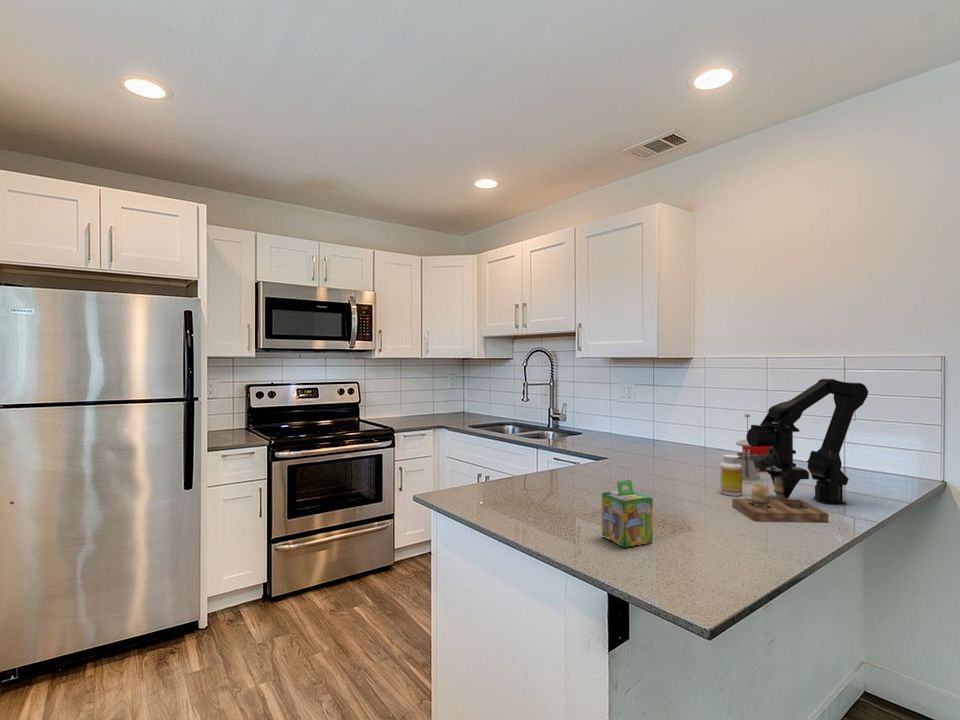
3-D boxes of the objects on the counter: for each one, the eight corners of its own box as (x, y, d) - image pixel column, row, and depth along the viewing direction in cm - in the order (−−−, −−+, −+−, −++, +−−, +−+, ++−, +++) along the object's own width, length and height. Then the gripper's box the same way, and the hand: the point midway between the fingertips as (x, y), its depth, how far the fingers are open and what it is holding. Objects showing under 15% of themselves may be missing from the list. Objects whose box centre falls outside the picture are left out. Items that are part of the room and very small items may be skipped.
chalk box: (624, 549, 120) (624, 487, 120) (600, 537, 128) (600, 479, 128) (654, 543, 123) (654, 483, 123) (629, 532, 132) (629, 476, 132)
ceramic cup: (795, 472, 199) (795, 447, 199) (752, 472, 199) (752, 447, 199) (776, 466, 212) (776, 442, 212) (736, 466, 212) (736, 442, 212)
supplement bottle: (745, 496, 165) (744, 458, 165) (723, 495, 166) (723, 457, 166) (738, 491, 171) (738, 454, 171) (718, 490, 173) (717, 453, 173)
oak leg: (785, 501, 159) (785, 476, 159) (793, 505, 155) (793, 479, 155) (771, 501, 159) (771, 476, 159) (778, 505, 155) (778, 479, 155)
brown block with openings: (799, 507, 153) (799, 481, 153) (828, 522, 139) (828, 493, 139) (732, 506, 154) (732, 480, 154) (754, 521, 140) (754, 492, 140)
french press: (763, 479, 189) (763, 413, 189) (761, 485, 179) (761, 416, 179) (734, 476, 194) (734, 411, 194) (731, 482, 184) (730, 414, 184)
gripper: (742, 441, 167) (742, 487, 167) (771, 451, 148) (771, 503, 148) (776, 441, 166) (776, 488, 166) (810, 451, 147) (810, 504, 147)
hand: (782, 495), depth 157 cm, fingers closed on oak leg, 4 cm apart
